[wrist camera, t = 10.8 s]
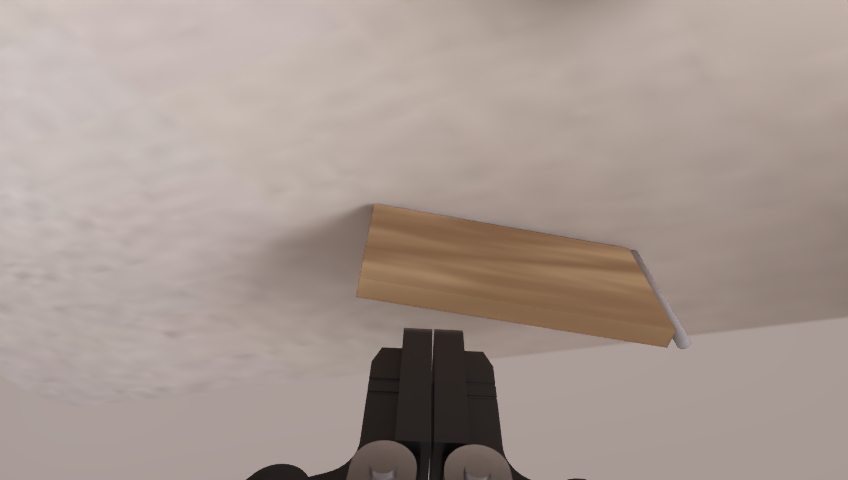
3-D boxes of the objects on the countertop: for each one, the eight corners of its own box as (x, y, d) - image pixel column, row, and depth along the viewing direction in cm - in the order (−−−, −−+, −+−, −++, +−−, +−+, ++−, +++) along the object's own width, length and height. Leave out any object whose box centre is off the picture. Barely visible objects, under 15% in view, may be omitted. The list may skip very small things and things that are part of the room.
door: (374, 203, 30) (359, 277, 24) (628, 248, 31) (676, 330, 25) (369, 234, 31) (353, 313, 25) (616, 277, 32) (659, 362, 26)
